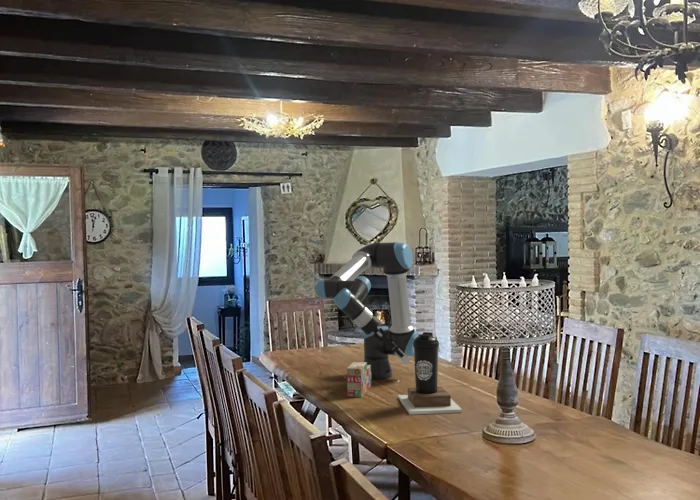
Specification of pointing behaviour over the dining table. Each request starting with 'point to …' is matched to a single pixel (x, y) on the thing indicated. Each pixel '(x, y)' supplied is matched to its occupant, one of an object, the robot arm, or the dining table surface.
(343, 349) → the dining table surface
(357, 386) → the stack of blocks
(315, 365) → the dining table surface
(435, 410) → the base board
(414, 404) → the plinth
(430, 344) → the water bottle
